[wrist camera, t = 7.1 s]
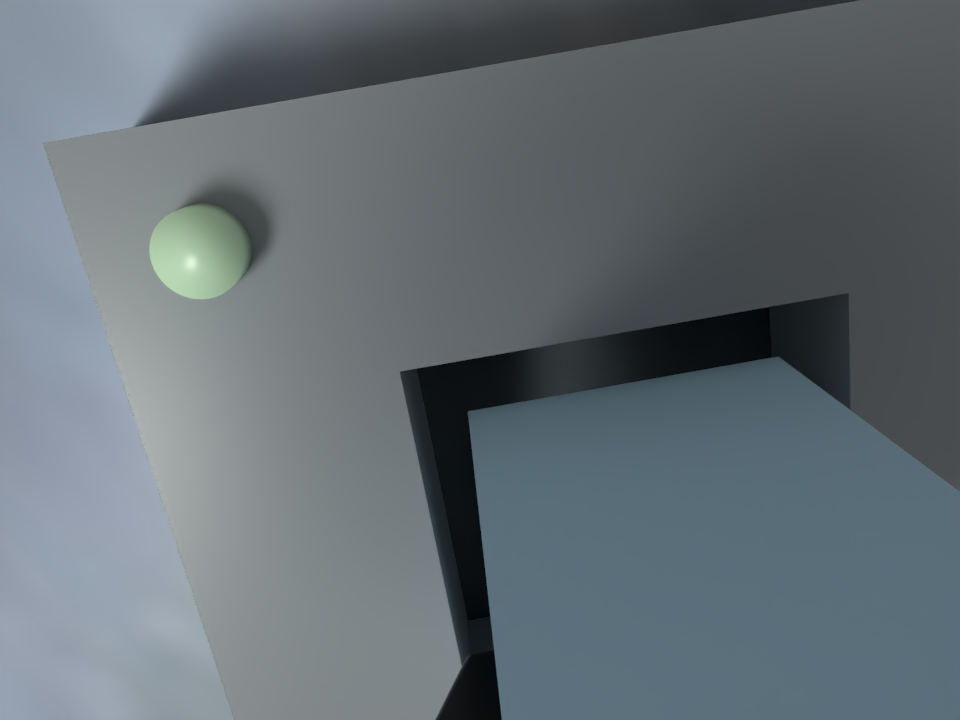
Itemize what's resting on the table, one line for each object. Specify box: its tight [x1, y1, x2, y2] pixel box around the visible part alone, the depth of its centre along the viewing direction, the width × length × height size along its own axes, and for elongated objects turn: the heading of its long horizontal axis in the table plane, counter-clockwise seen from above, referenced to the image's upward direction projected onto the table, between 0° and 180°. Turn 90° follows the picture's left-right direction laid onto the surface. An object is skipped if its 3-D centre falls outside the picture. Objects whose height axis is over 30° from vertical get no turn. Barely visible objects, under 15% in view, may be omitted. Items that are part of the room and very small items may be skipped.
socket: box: [43, 0, 960, 720], centre depth 11 cm, size 12×12×3 cm
